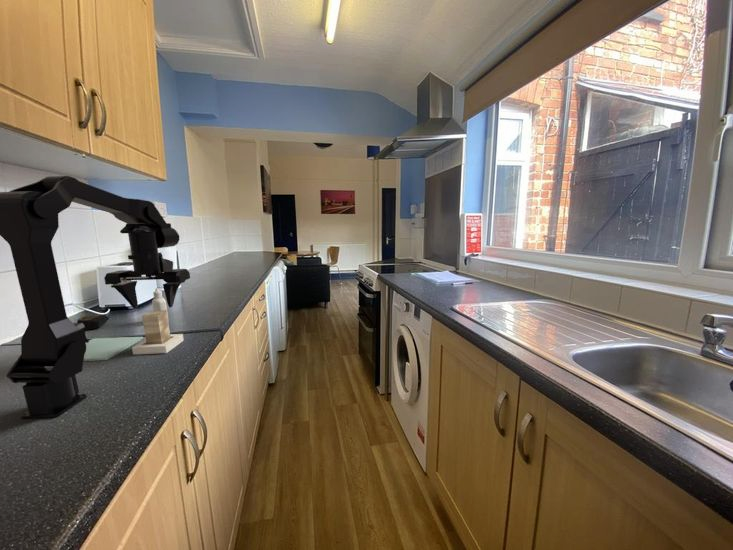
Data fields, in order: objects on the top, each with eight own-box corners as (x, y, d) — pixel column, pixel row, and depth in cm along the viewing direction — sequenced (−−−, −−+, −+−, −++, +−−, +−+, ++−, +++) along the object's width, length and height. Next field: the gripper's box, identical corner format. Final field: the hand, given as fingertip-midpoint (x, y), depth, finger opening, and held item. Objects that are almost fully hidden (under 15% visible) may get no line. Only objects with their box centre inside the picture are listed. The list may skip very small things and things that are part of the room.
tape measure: (99, 330, 98) (97, 319, 98) (73, 332, 96) (71, 321, 96) (109, 323, 105) (108, 313, 104) (85, 325, 103) (83, 315, 102)
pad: (106, 360, 76) (105, 357, 76) (48, 362, 76) (47, 360, 76) (143, 338, 90) (142, 336, 90) (94, 340, 89) (93, 338, 89)
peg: (162, 350, 82) (157, 314, 80) (147, 350, 82) (141, 315, 80) (171, 343, 86) (166, 310, 84) (156, 344, 86) (151, 310, 84)
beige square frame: (166, 353, 80) (165, 346, 79) (133, 354, 79) (131, 347, 79) (183, 340, 88) (182, 333, 88) (153, 341, 88) (152, 335, 87)
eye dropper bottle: (170, 317, 109) (165, 285, 107) (168, 322, 104) (163, 288, 102) (155, 319, 107) (150, 287, 105) (153, 324, 102) (147, 290, 100)
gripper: (196, 246, 87) (202, 298, 90) (129, 248, 86) (138, 300, 89) (174, 250, 76) (182, 309, 79) (97, 252, 75) (108, 312, 78)
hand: (153, 307), depth 82 cm, fingers open, 9 cm apart
